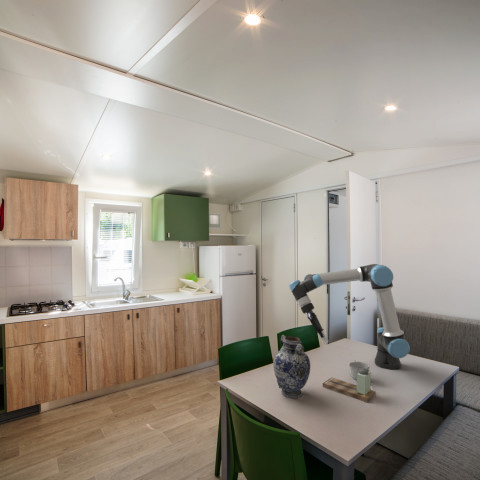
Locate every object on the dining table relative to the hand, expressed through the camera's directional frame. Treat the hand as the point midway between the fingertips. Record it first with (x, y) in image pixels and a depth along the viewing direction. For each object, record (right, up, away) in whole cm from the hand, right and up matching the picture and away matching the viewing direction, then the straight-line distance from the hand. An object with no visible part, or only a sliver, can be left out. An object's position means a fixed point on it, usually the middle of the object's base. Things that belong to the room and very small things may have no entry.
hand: (326, 342), depth 178 cm
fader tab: (+13, -17, -21) cm, 30 cm away
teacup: (+19, -21, +1) cm, 28 cm away
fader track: (+7, -20, -15) cm, 26 cm away
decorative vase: (-22, -20, -18) cm, 35 cm away
